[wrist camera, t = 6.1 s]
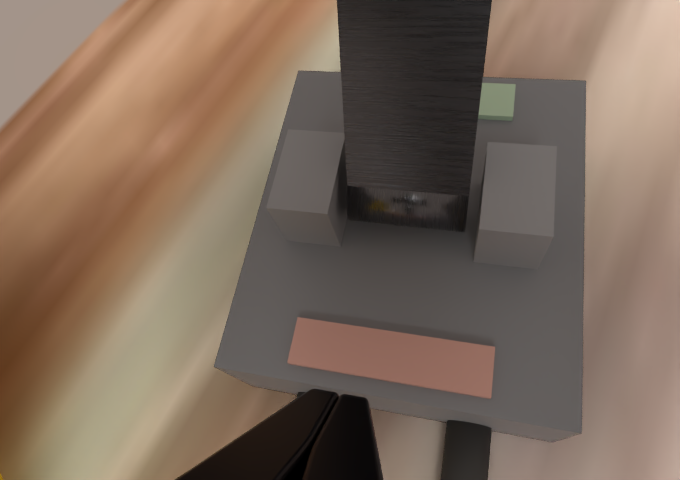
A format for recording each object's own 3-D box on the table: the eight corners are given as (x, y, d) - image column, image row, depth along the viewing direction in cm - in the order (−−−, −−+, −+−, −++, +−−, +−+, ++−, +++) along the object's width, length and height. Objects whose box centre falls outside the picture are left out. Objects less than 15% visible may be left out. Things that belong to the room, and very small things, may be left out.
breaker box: (552, 442, 14) (608, 424, 10) (252, 386, 16) (179, 349, 12) (561, 143, 18) (606, 27, 13) (317, 128, 20) (282, 24, 16)
